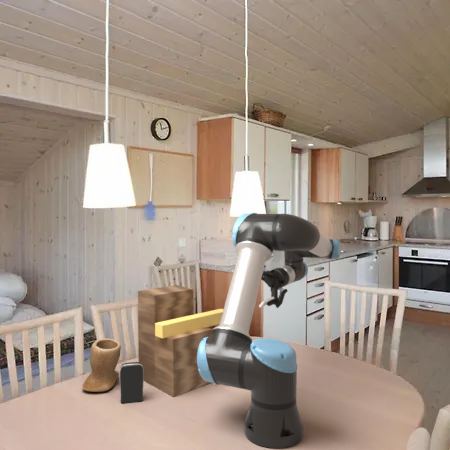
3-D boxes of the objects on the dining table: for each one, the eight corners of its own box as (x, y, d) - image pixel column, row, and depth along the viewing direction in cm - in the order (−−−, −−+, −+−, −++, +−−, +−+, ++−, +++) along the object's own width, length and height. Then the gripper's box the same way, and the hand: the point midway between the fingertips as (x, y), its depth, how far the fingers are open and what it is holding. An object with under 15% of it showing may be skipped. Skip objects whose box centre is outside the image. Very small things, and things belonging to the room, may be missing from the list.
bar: (221, 319, 156) (221, 308, 156) (228, 321, 153) (228, 310, 153) (155, 335, 137) (155, 323, 137) (162, 338, 134) (162, 325, 134)
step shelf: (176, 366, 160) (176, 285, 158) (212, 382, 145) (212, 293, 143) (138, 378, 149) (137, 291, 147) (173, 397, 134) (172, 300, 133)
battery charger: (143, 396, 135) (142, 359, 134) (143, 401, 131) (143, 364, 130) (120, 398, 133) (119, 361, 133) (120, 404, 129) (119, 366, 129)
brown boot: (116, 395, 136) (115, 347, 135) (77, 394, 136) (77, 347, 135) (127, 375, 151) (126, 333, 150) (93, 375, 151) (92, 333, 150)
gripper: (297, 307, 165) (266, 323, 149) (255, 260, 175) (221, 270, 159) (309, 294, 161) (278, 310, 145) (265, 247, 171) (231, 256, 155)
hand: (248, 289), depth 152 cm, fingers open, 13 cm apart
